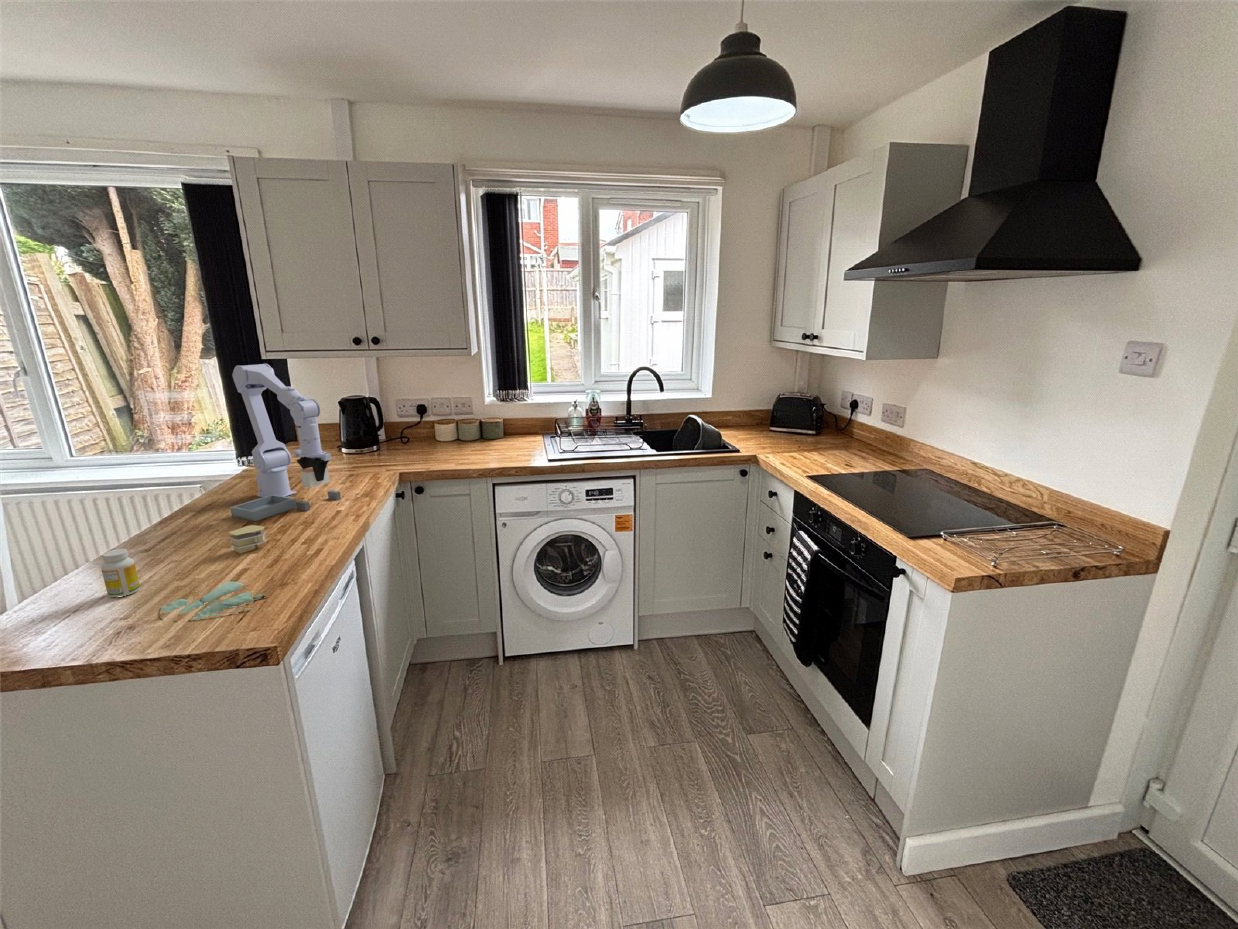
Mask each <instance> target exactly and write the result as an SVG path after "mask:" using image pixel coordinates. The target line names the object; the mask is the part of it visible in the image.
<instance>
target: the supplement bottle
mask: <svg viewBox="0 0 1238 929" xmlns="http://www.w3.org/2000/svg"><path fill="white" fill-rule="evenodd" d="M102 558H103V559H102V561H104V563H103V564H101V567H100V570H101V574H102V578H103V581H104V585H105V590H106V593H107V596H108V597H109V598H111V597H118V596H125V597H127V596H126V595H128V594H130V593H133V592H135V591H137V590H138V589H139V590H140V588H141V584H140V580H139V577H138V572H137V567H136V564H135V560H134V559H133V557H132V558H131V557H129V552H128V549H126V548H117V549H113V550H109V551H106V552H104V553H102ZM137 592H138V591H137Z"/></svg>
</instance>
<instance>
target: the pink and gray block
mask: <svg viewBox="0 0 1238 929" xmlns="http://www.w3.org/2000/svg"><path fill="white" fill-rule="evenodd" d="M329 474H330V473H329V467H328V465H327V466H326V469H325V474H324V480H322V481H319V482H318V481H317V480H316V478H315V474H314V470H313V468H312V467H309V468H306V469H302V468H301V469H300V476H301V482H302V484H301V485H302V487H303V488H310V489H311V488H315V487H318V486H321V485H324V484H328V483H330V482H331V481H330V475H329Z"/></svg>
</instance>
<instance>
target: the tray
mask: <svg viewBox="0 0 1238 929" xmlns="http://www.w3.org/2000/svg"><path fill="white" fill-rule="evenodd" d="M296 502H297V499H296V497H290V496H279V495H269V496H266V497H260V498H257V499H253V500H250V501H246V502H244V503H239V504H236V505H233V506H230V507H229V508H230V509H229V510H230V514H231V517H233V518H237V519H241V520H246V521H251V522H257V521H261V520H264V519H266V518H269V517H272V516H277V515H278V514H282V513H285V512H288V511H290V510H294V509H297V506H296Z"/></svg>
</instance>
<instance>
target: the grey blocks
mask: <svg viewBox="0 0 1238 929" xmlns="http://www.w3.org/2000/svg"><path fill="white" fill-rule="evenodd" d="M327 497H328V499H329V500H334V501H338V500H341V499H342V497H341V491H338V490H332V489H331V490H328V491H327ZM296 506H297V508H296V509H297V510H299V511H305V512H306V511H309V510H311V506H310V502H309V501H306V500H296Z"/></svg>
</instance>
